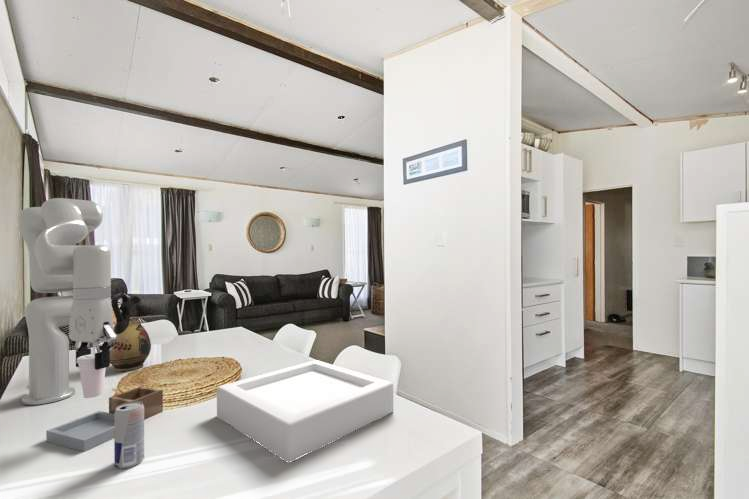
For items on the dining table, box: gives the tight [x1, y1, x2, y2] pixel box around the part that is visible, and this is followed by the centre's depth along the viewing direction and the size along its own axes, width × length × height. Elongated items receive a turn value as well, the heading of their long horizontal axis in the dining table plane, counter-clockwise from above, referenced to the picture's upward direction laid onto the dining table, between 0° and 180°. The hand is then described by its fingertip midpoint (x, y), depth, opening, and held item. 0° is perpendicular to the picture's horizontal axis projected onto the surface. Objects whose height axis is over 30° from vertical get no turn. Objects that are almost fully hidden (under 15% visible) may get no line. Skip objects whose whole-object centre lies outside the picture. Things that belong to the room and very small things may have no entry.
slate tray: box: [45, 410, 114, 452], centre depth 92 cm, size 14×12×2 cm
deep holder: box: [108, 386, 164, 421], centre depth 103 cm, size 9×9×6 cm
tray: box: [216, 359, 394, 462], centre depth 103 cm, size 35×35×9 cm
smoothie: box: [75, 342, 107, 399], centre depth 92 cm, size 6×6×14 cm
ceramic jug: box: [110, 293, 152, 372], centre depth 146 cm, size 17×15×30 cm
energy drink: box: [113, 402, 145, 470], centre depth 80 cm, size 5×5×12 cm
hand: (92, 366), depth 92 cm, fingers closed on smoothie, 6 cm apart
